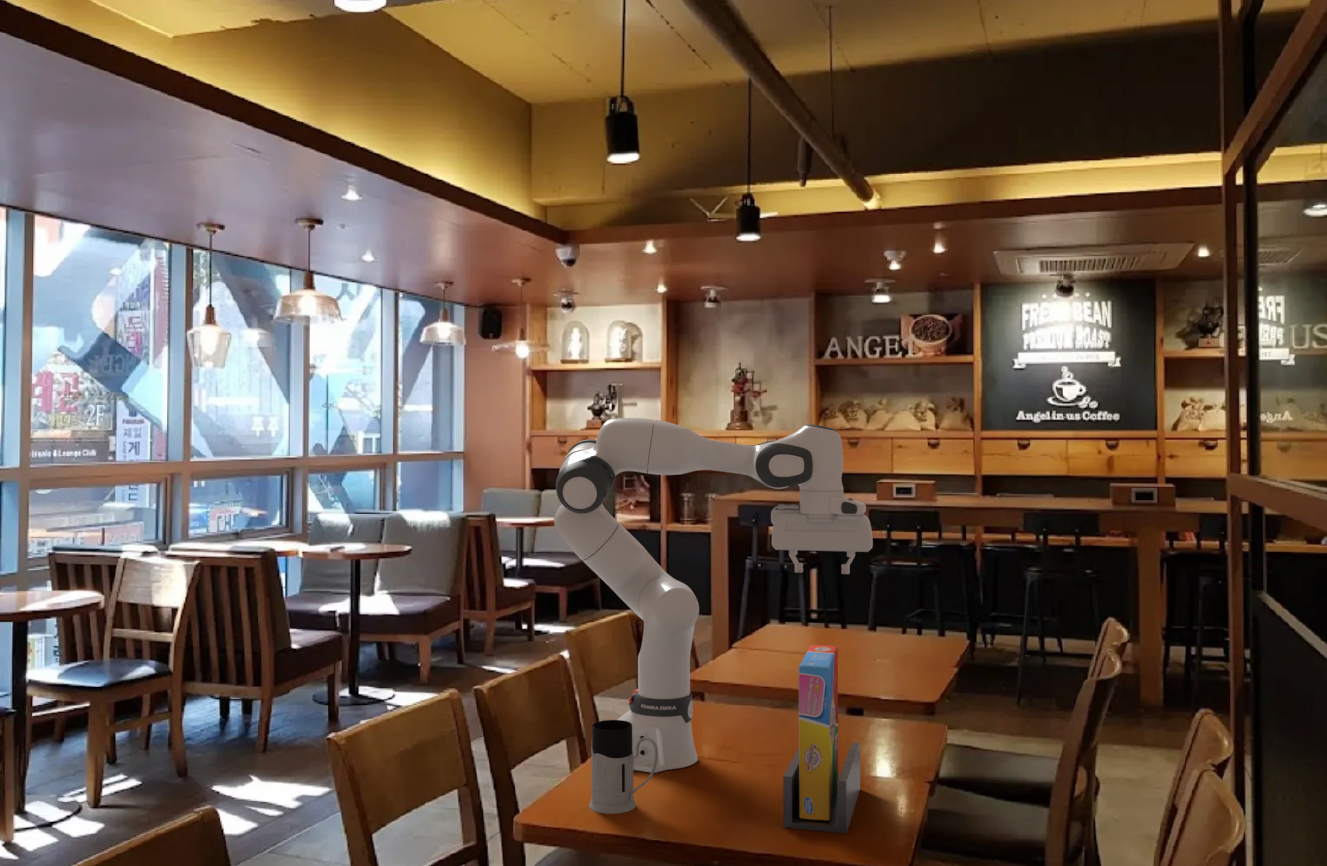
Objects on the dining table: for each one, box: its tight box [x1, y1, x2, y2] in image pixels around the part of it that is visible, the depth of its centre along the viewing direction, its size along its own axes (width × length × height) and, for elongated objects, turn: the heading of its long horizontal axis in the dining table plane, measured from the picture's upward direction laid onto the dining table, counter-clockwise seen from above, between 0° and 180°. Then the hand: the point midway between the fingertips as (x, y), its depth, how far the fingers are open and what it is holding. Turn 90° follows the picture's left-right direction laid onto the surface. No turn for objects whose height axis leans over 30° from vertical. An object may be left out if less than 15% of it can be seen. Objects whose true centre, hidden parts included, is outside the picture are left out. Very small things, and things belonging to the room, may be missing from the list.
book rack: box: [782, 742, 861, 834], centre depth 195 cm, size 11×24×9 cm, turn 164°
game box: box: [798, 644, 839, 821], centre depth 195 cm, size 21×6×27 cm, turn 166°
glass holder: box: [588, 719, 658, 815], centre depth 195 cm, size 9×14×15 cm, turn 59°
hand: (822, 572), depth 213 cm, fingers open, 8 cm apart
